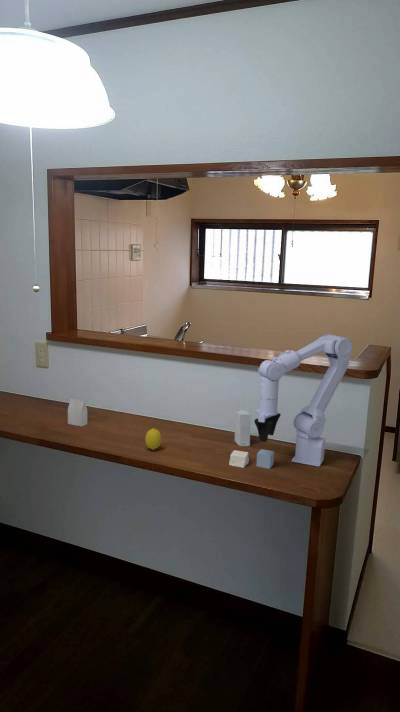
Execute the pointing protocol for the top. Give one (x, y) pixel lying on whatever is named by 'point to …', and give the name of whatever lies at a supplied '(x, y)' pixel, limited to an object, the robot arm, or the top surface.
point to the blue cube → (265, 458)
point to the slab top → (239, 456)
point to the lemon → (153, 438)
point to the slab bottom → (239, 463)
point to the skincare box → (242, 427)
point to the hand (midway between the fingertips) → (266, 437)
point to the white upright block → (77, 412)
